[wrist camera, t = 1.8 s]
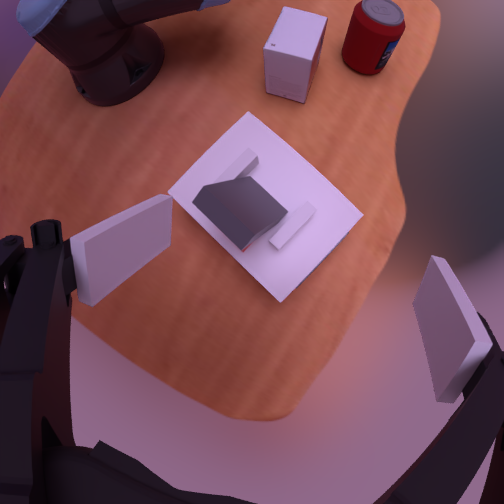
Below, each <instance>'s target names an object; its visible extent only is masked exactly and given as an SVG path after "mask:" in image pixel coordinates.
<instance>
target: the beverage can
mask: <svg viewBox="0 0 504 504" xmlns="http://www.w3.org/2000/svg"><path fill="white" fill-rule="evenodd" d="M404 30H405V21H404V14H403V11H402V10H401V8H400V7H399V6H398V5H397V4H395V3H394V2H393V1H391V0H362V1H361V2H359V3H358V4H357V5H356V6H355V8H354V11H353V14H352V17H351V21H350V24H349V27H348V31H347V34H346V37H345V41H344V44H343V48H342V56H343V58H344V60H345V62H346V63H347V64H348V65H349V66H350V67H351V68H353V69H354V70H356V71H358V72H361V73H364V74H375V73H378V72H380V71H381V70H382V69H383V68H384V66H385V65H386V63H387V61H388V60H389V58H390V56H391V54H392V52H393V51H394V49H395V47H396V45H397V43H398V41H399V40H400V38H401V36H402V34H403V32H404Z"/></svg>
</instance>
